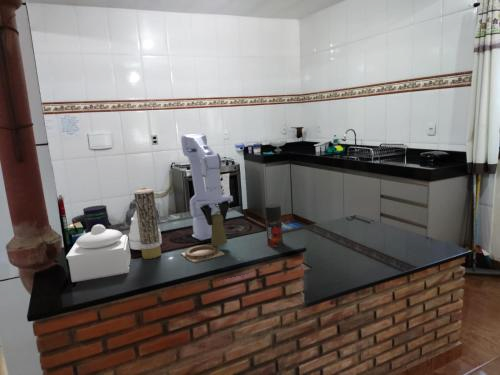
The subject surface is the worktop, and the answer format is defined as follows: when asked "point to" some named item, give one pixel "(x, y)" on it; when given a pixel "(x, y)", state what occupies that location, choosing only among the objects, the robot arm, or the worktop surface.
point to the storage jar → (95, 217)
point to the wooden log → (147, 223)
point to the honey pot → (137, 234)
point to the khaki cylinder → (218, 230)
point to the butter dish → (99, 254)
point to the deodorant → (274, 225)
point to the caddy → (202, 253)
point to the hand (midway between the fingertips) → (216, 223)
